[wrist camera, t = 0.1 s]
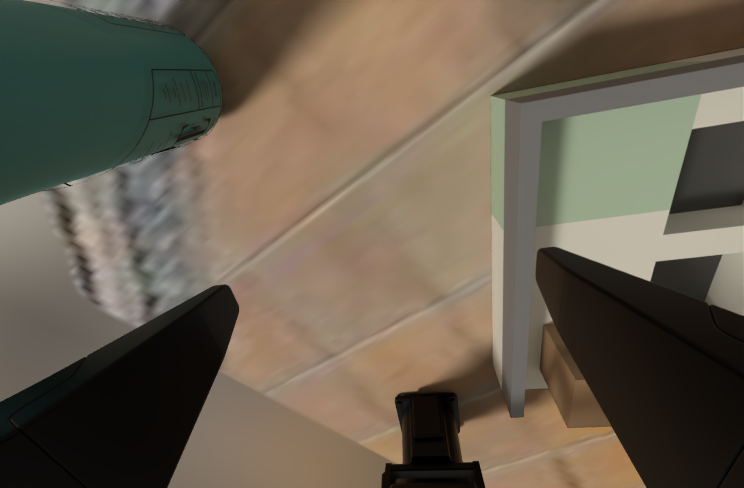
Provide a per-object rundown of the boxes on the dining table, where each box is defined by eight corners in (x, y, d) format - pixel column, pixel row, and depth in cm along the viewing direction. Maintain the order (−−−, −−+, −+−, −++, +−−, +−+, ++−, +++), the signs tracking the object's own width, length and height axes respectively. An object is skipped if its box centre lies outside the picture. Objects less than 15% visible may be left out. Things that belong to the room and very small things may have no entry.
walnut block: (604, 364, 26) (646, 425, 21) (539, 369, 26) (567, 428, 22) (614, 318, 23) (664, 374, 19) (543, 324, 24) (575, 380, 20)
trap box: (702, 348, 28) (766, 406, 23) (492, 363, 31) (510, 417, 26) (836, 30, 17) (1011, 13, 12) (490, 96, 20) (520, 103, 15)
